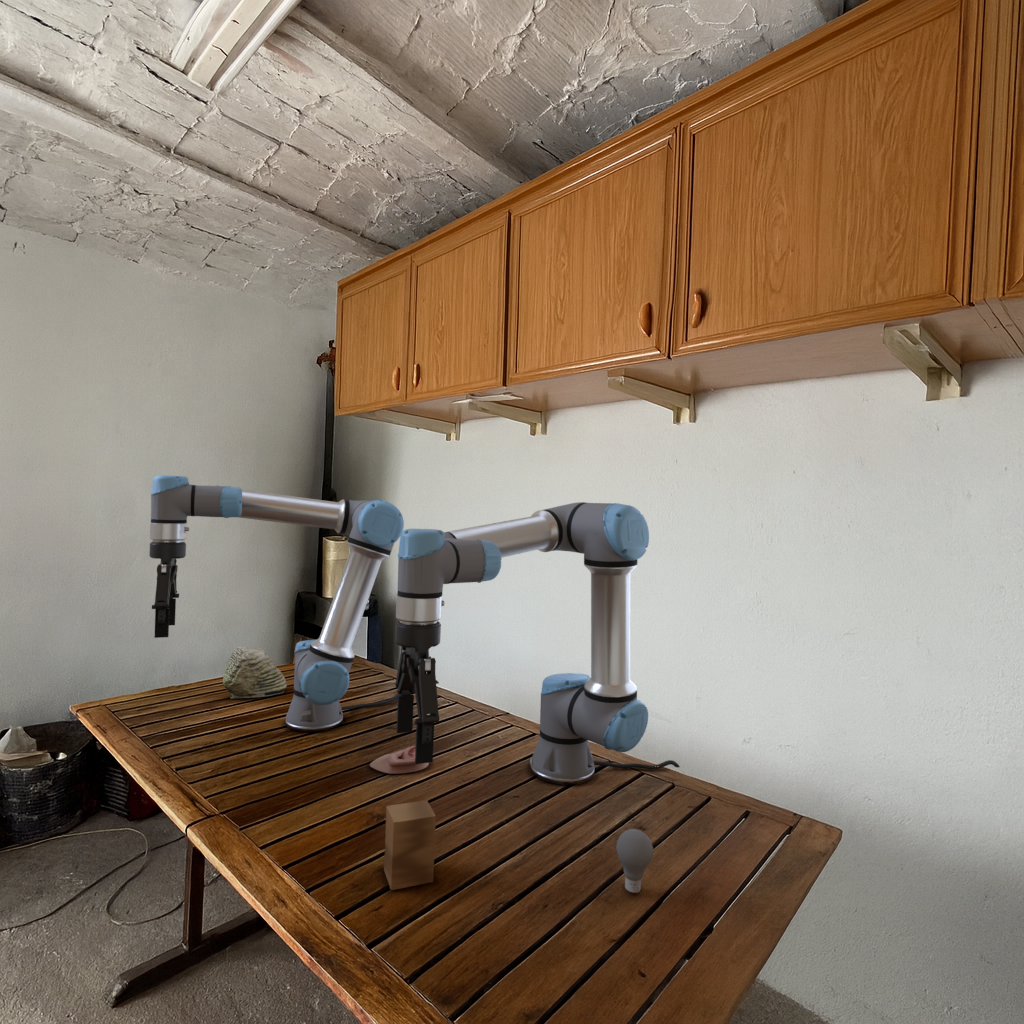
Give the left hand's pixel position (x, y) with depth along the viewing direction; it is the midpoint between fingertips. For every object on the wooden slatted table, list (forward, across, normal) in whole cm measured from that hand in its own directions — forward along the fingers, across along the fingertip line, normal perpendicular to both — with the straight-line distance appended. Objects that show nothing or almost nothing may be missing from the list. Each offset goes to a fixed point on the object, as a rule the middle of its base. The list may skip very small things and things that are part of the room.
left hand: (165, 631), depth 149 cm
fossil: (+30, +44, -21) cm, 57 cm away
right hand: (+8, -64, -44) cm, 79 cm away
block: (+30, -64, -44) cm, 84 cm away
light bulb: (+30, -80, -78) cm, 116 cm away
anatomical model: (+30, -20, -53) cm, 64 cm away
